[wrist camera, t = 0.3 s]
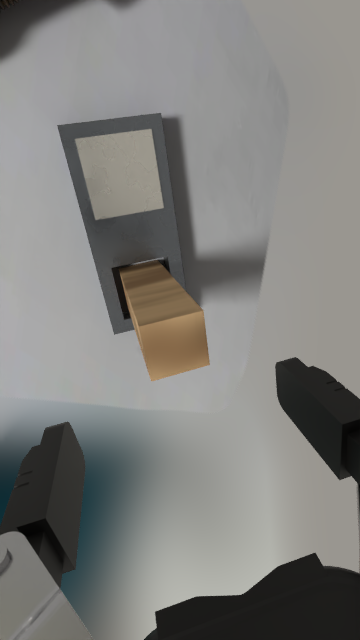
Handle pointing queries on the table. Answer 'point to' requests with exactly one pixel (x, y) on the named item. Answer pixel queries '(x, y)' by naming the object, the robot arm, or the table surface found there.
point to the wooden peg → (164, 320)
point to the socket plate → (123, 198)
